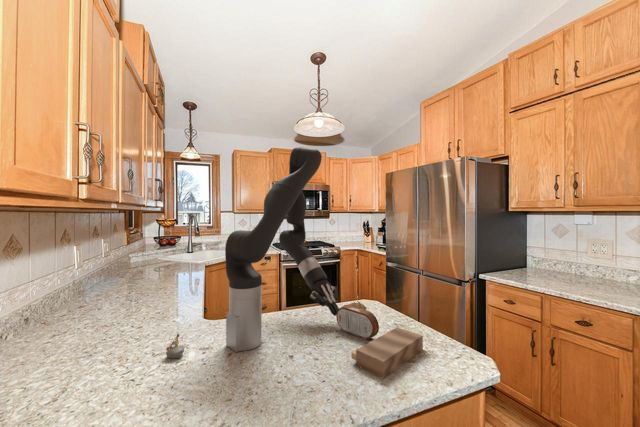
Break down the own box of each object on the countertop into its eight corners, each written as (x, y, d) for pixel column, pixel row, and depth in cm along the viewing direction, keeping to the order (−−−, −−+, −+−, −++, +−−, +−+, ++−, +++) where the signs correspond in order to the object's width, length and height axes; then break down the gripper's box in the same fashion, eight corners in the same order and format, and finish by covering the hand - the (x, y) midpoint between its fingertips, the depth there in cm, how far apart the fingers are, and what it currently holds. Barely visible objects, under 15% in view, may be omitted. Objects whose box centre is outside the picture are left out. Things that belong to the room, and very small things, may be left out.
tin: (379, 340, 84) (379, 312, 84) (373, 344, 82) (373, 315, 82) (340, 326, 94) (340, 301, 94) (334, 329, 92) (334, 303, 92)
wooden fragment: (354, 325, 95) (354, 322, 95) (325, 320, 100) (325, 317, 100) (373, 304, 118) (373, 301, 119) (348, 301, 123) (348, 298, 123)
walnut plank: (383, 379, 64) (383, 361, 64) (351, 363, 71) (351, 347, 71) (422, 349, 78) (422, 335, 78) (392, 338, 85) (392, 325, 85)
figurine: (184, 358, 73) (183, 334, 74) (165, 362, 71) (164, 338, 72) (184, 352, 77) (184, 330, 78) (166, 356, 76) (166, 333, 76)
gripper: (303, 268, 96) (329, 313, 87) (329, 263, 105) (355, 303, 96) (293, 281, 99) (317, 325, 91) (319, 275, 109) (343, 314, 100)
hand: (337, 314), depth 94 cm, fingers closed
